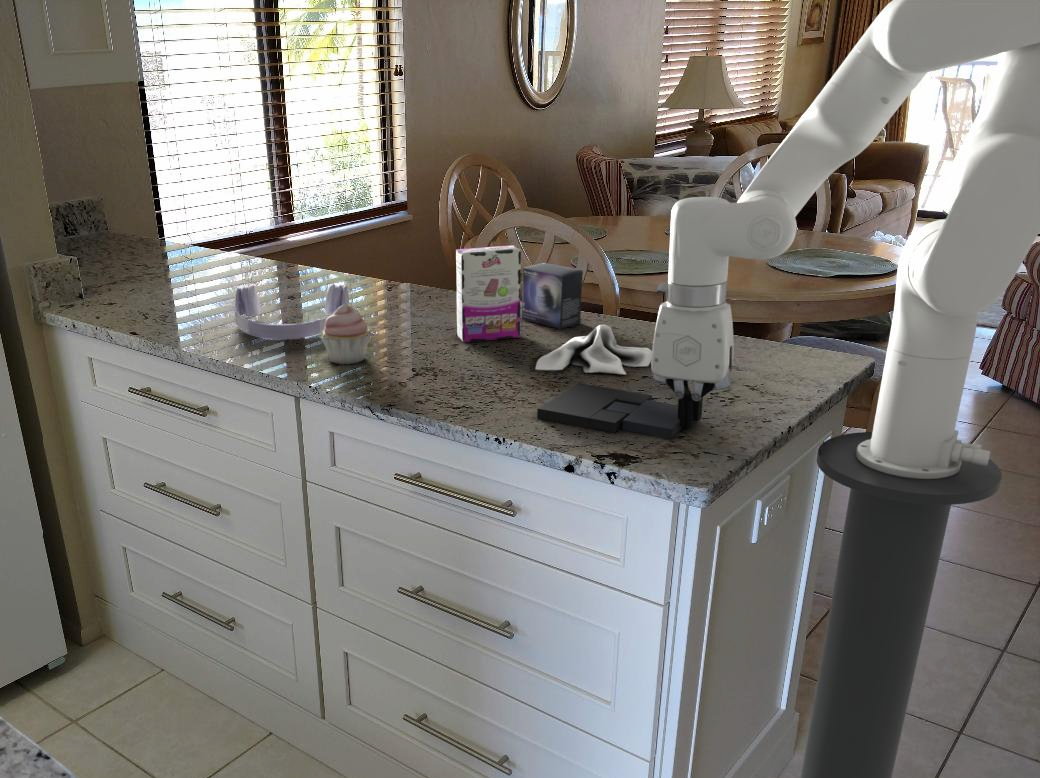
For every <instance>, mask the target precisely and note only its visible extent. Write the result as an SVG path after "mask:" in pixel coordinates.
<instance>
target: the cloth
mask: <svg viewBox="0 0 1040 778" xmlns="http://www.w3.org/2000/svg"><path fill="white" fill-rule="evenodd" d="M651 359H652V350H651V348H648V347H633V346H621V345H619V344H617V340H616V337H615V335H614V333H613V329H612V327H611V326H610V325H607V324H599V325H597V326H596V327H595V328H594V329H592V331H590V332H589V333H588V334H587V335H583V336H575V337H573V338H571V339H569V340H568V341H567V342H566V343H564V344H562V345H561V346H559V347H558V348H556V349H553V350H552V351H551V352H549V353H547V354H545V355H542V356H541V357H540V358H539V359H537V361H536V364H535V369H534V370H536V371H563V370H564V369H565V368H566V367H567V366H568V365H569V364H570V365H572V366H579V367H582V368H583V372H584V373H585V374H588V373H589V374H593V373H603V374H617V375H625V376H626V375H627V372H626V371H625V370H624V368H623V366H624V367H633V368H636V367H649V366H650V365H651Z"/></svg>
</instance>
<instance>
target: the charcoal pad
mask: <svg viewBox="0 0 1040 778" xmlns="http://www.w3.org/2000/svg"><path fill="white" fill-rule="evenodd" d="M606 410H608V411H614V412H620V413H625V414H627V417H626V418H625V419H624V420H623V426H622V427H621V430H622V431H626V432H630V433H636V434H641V435H647V436H652V437H659V438H664V439H668V440H669V439H670V440H672V439H673V438H674V437H675V435H676V434H678V433H679V432H680V431H681V429H683V427H681V426H680V422H681V419H679V418H678V404H672V403H667V402H661V401H655V400H652V401H650V400H646V401H645V402H644V403H642V404H641V405H640V406H638V405H632V404H627V403H621V402H614V403H613V404H612V405H610V406H609V407H608V408H607V409H606Z"/></svg>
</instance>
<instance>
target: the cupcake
mask: <svg viewBox="0 0 1040 778" xmlns="http://www.w3.org/2000/svg"><path fill="white" fill-rule="evenodd" d="M367 324H368V323H367V322H366V321H365V319H364V318H363V317H362V315H361V313H360V312H359V310H358V309H356V308H354V307H353V306H352V305H347V304H344V305H342V306H340V307H339V308H338V309H337V310H336V311H335V313H334V315H332V316H330V317H328V318H327V319H326V322H325V330H323V332H322V333H319V334H318V336H319V338H320V339H321V341H322V342H323V346H324V348H325V352H326V354H327V357H328V360H329V362H331V363H333V364H337V365H353V364H357V363H361V362H363V361H364V360H365V359H366V356H367V355H366V354H367V349H368V345H369V342H370V340H371V338H372V336H373V334H374V331H371V329H370V328H368V325H367Z"/></svg>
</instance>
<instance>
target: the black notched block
mask: <svg viewBox="0 0 1040 778" xmlns="http://www.w3.org/2000/svg"><path fill="white" fill-rule="evenodd" d="M646 400H650V401H653V395H652V394H647V393H641V392H637V391H636V392H635V391H629V390H623V389H619V388H618V389H617V388H612V387H606V386H599V385H596V384H595V385H594V384H589V383H584V382H583V383H582V382H577V383H575V384H574V385H573V386H571V387H569V388H568V389H566V390H565V391H563V392H561V393H560V394H558V395H556V396H555V397H554V398H552V399H550V400H548V401H547V402H546V403H543V404H542V405H540V406H539V407H538V408H537V411H536V418H537V419H540V420H545V421H550V422H554V423H555V422H556V423H560V424H567V425H571V426H577V427H582V428H586V429H594V430H598V431H604V432H608V433H613V434H615V433H617V431H619V430H620V429H622V426H623V420H624V419H625V418H626V417H627V414H625V413H620V412H614V411H608V410H606V409H607V408H608V407H609V406H610V405H612V404H613V403H614V402H621V403H627V404H632V405H638V406H640V405H641V404H642V403H644V402H645V401H646Z"/></svg>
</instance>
